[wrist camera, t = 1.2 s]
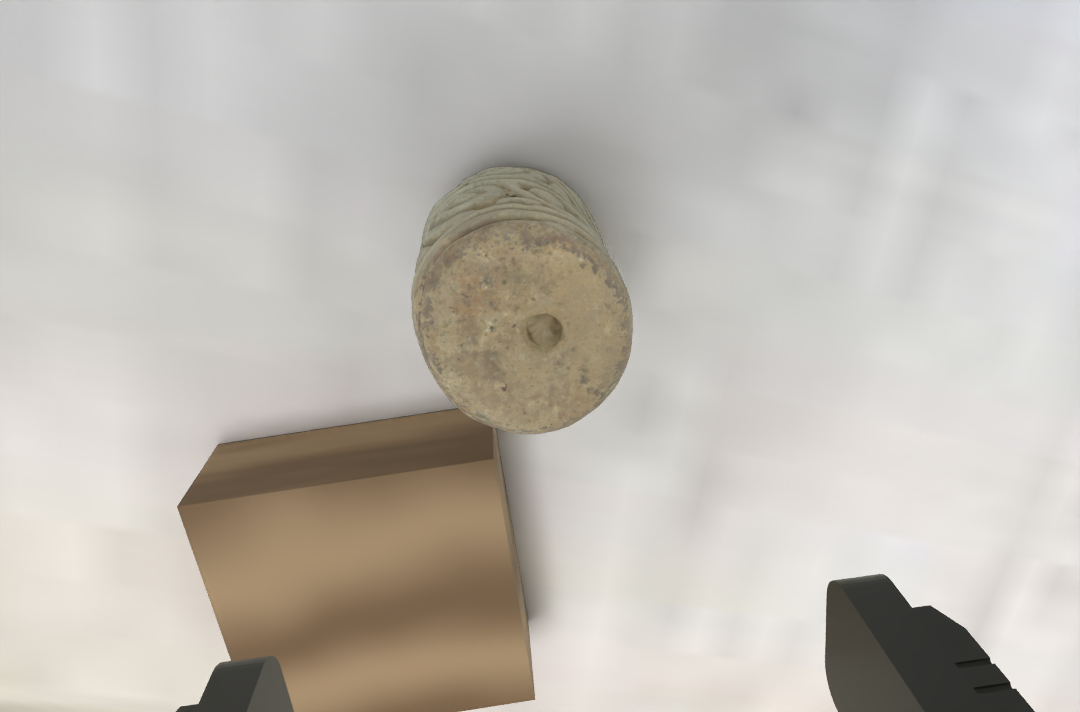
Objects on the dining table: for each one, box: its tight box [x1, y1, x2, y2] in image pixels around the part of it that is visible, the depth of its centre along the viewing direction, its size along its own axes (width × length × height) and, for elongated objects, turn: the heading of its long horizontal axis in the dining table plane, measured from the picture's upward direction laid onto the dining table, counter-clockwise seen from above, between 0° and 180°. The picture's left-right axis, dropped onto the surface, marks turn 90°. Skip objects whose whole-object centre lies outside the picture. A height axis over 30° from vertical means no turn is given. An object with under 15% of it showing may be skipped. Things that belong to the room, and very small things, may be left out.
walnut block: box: [177, 409, 535, 712], centre depth 34 cm, size 12×12×5 cm
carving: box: [411, 167, 633, 434], centre depth 26 cm, size 6×8×12 cm
